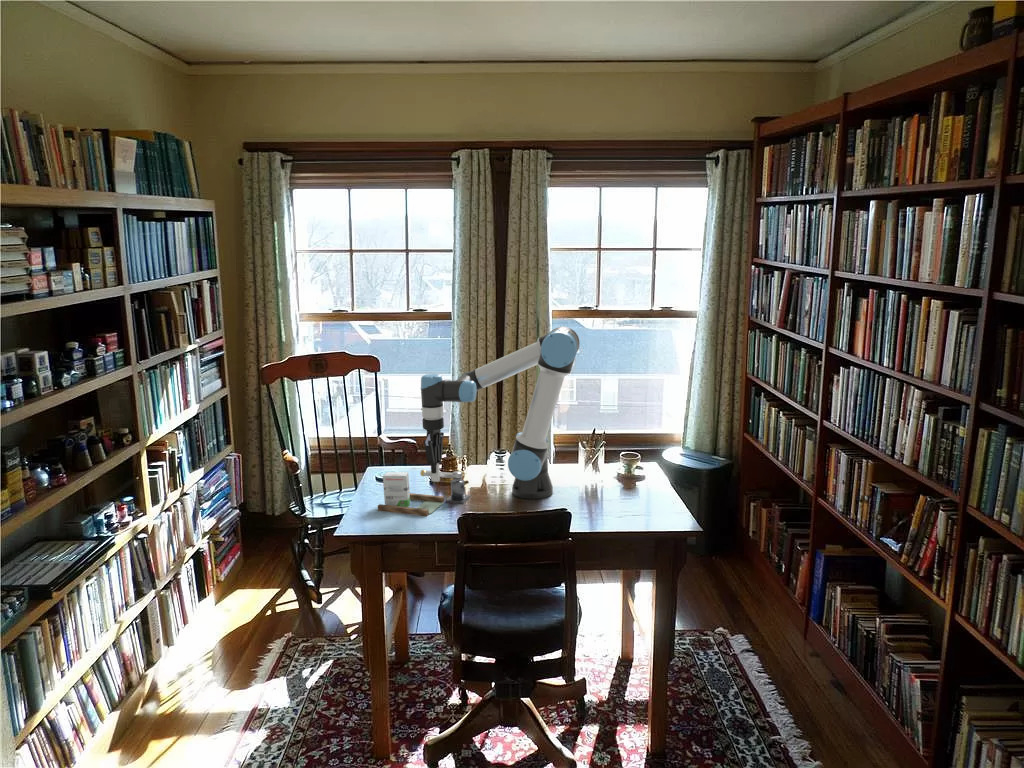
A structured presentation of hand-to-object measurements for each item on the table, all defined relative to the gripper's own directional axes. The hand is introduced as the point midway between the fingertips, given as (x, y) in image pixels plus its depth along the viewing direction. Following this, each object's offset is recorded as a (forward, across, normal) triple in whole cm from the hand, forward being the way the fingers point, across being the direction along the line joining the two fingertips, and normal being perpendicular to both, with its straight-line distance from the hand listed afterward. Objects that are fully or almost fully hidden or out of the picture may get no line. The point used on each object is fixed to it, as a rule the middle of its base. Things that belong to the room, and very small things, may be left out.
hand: (435, 480), depth 278 cm
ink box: (+8, +7, -12) cm, 16 cm away
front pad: (+8, +7, 0) cm, 11 cm away
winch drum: (+8, -4, +7) cm, 11 cm away
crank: (0, -4, 0) cm, 4 cm away
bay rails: (+8, +7, -7) cm, 12 cm away
